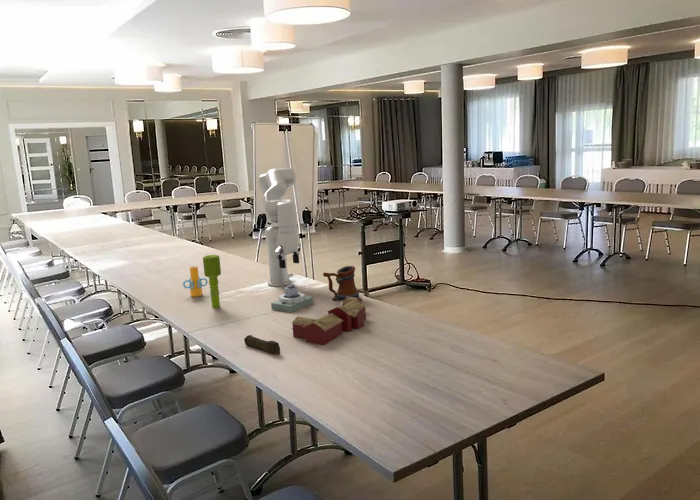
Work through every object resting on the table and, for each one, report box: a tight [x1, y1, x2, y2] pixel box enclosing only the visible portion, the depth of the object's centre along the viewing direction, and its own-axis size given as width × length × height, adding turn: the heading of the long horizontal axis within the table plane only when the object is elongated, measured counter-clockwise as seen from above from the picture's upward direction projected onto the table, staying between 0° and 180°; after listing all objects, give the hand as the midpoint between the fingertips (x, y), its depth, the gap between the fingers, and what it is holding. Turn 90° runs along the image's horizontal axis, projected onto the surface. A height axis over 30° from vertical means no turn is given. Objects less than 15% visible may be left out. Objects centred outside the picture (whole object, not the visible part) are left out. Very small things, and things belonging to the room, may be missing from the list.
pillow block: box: [270, 292, 314, 313], centre depth 271 cm, size 16×12×5 cm
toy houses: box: [291, 297, 367, 346], centre depth 241 cm, size 45×20×10 cm, turn 148°
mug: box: [322, 265, 360, 301], centre depth 278 cm, size 18×12×15 cm, turn 122°
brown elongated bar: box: [243, 334, 281, 356], centre depth 217 cm, size 19×4×5 cm, turn 44°
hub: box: [284, 283, 299, 298], centre depth 270 cm, size 6×6×7 cm
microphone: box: [202, 254, 222, 309], centre depth 275 cm, size 8×8×25 cm
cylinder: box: [182, 265, 209, 298], centre depth 298 cm, size 12×10×15 cm
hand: (289, 265), depth 268 cm, fingers open, 9 cm apart
